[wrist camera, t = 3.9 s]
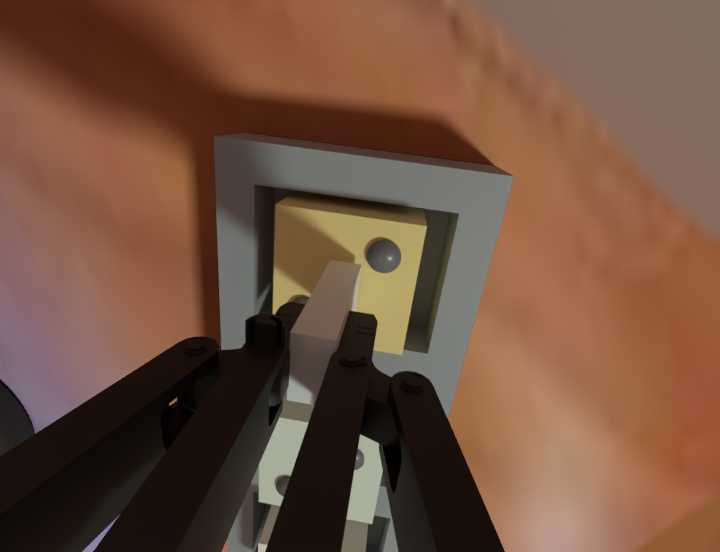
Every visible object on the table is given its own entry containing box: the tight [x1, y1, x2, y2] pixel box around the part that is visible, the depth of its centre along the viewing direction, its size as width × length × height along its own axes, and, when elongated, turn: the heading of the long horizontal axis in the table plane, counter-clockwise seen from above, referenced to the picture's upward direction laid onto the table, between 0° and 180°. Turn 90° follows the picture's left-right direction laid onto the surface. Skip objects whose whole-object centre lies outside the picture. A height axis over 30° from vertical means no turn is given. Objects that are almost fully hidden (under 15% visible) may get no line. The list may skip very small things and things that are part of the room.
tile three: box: [273, 191, 427, 355], centre depth 20 cm, size 7×7×4 cm
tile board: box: [214, 133, 514, 552], centre depth 26 cm, size 14×34×4 cm, turn 173°
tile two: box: [259, 391, 383, 524], centre depth 23 cm, size 7×7×4 cm
